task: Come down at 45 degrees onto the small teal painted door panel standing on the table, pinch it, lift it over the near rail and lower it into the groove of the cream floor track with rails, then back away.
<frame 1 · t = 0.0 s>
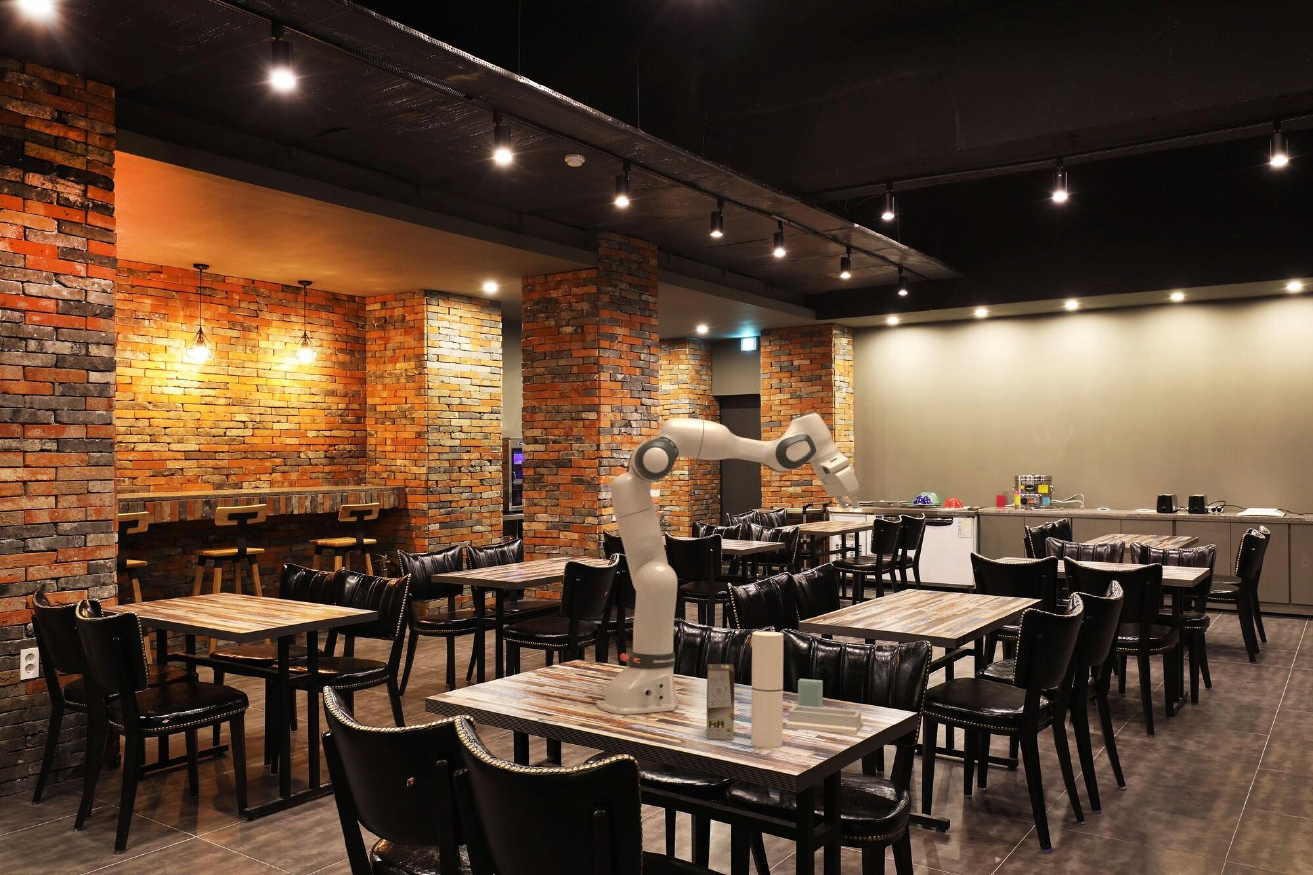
hand: (851, 507, 267), 54 cm above the table, tool tilted 30°, fingers open, 8 cm apart
door: (810, 713, 250), on the table
track: (824, 725, 236), on the table
cylindrical container: (766, 744, 217), on the table
coffee box: (719, 736, 224), on the table
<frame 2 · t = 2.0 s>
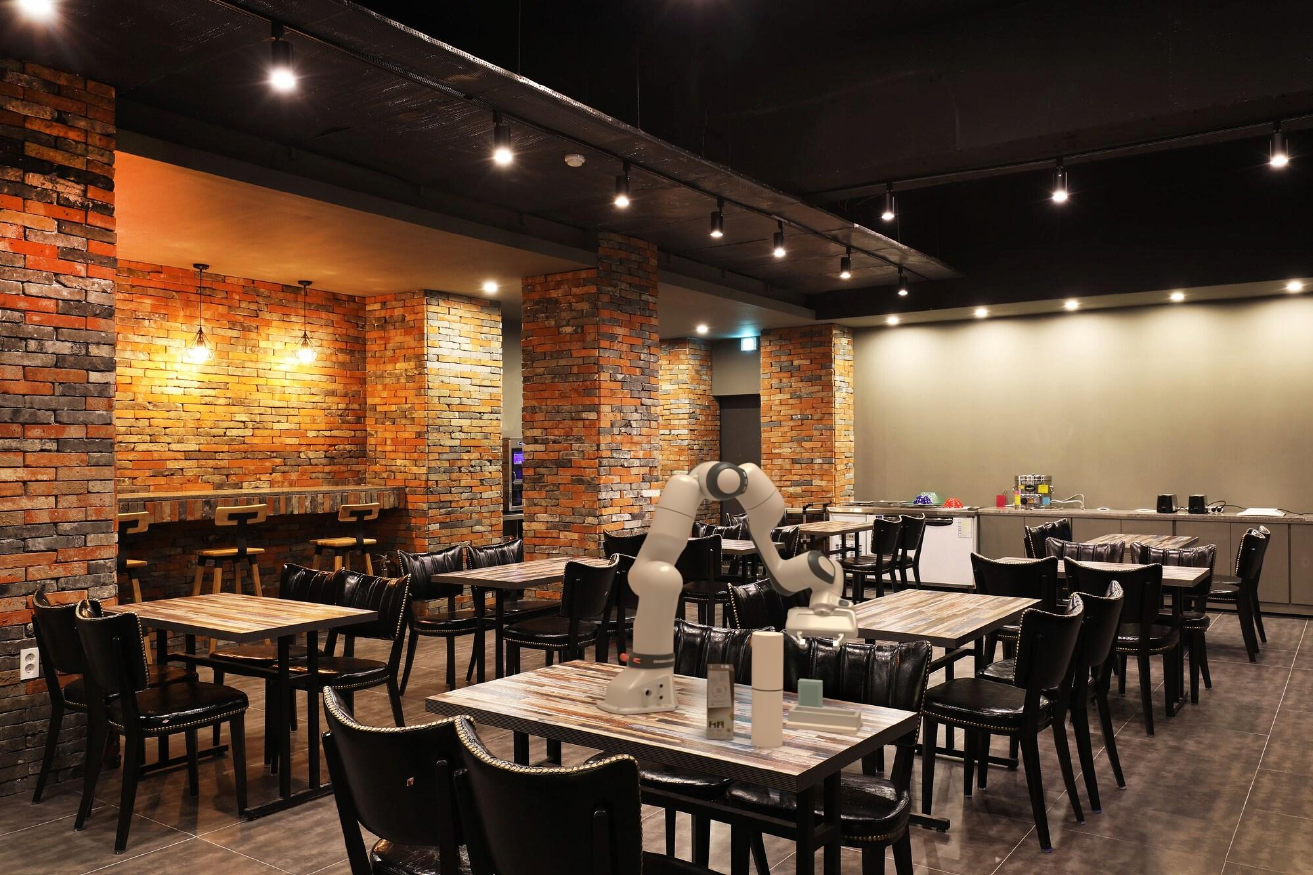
hand: (818, 647, 263), 15 cm above the table, tool tilted 45°, fingers open, 8 cm apart
nothing on the table moved.
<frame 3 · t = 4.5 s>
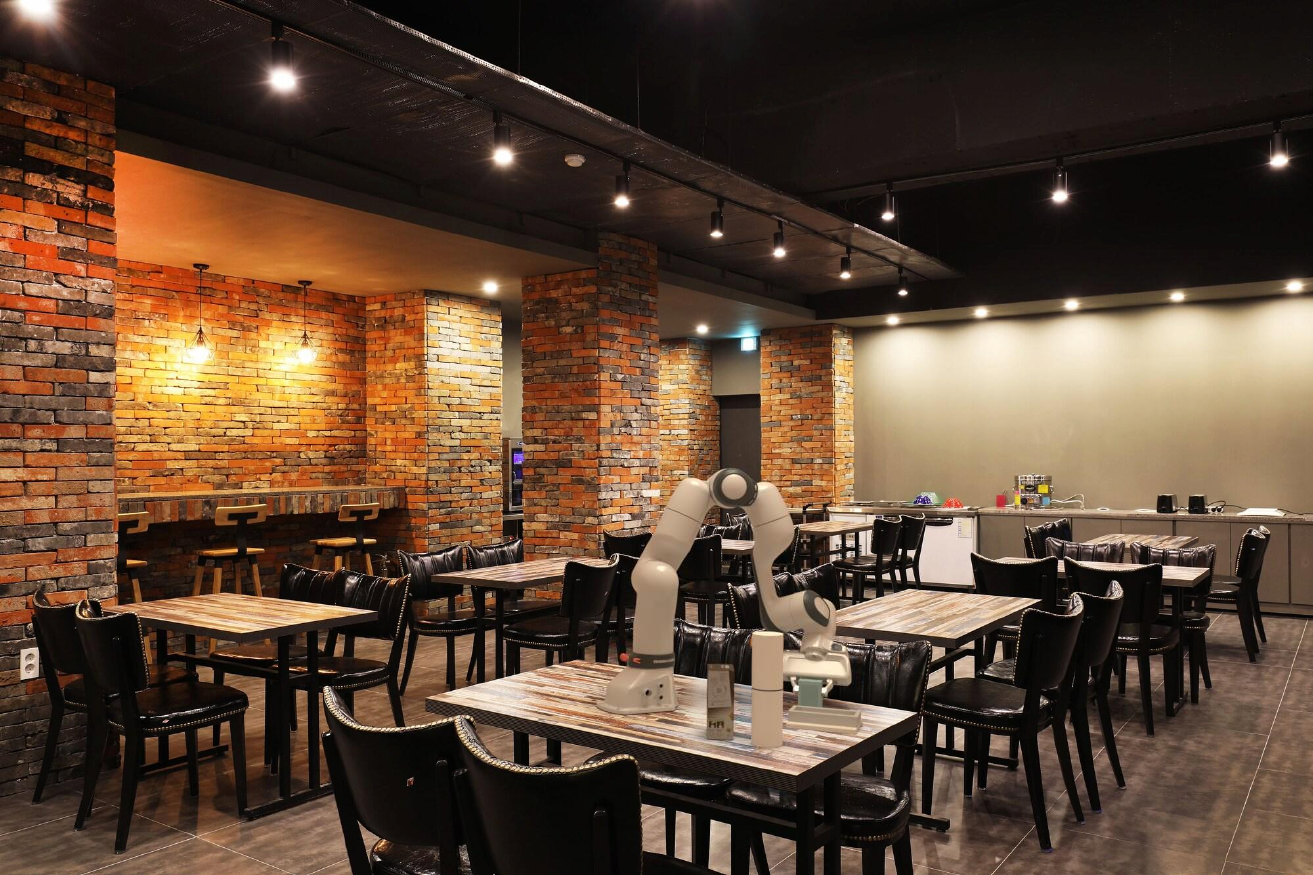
hand: (809, 694, 250), 5 cm above the table, tool tilted 45°, fingers closed on door, 6 cm apart
door: (810, 712, 250), on the table, touching gripper
everything else where it was.
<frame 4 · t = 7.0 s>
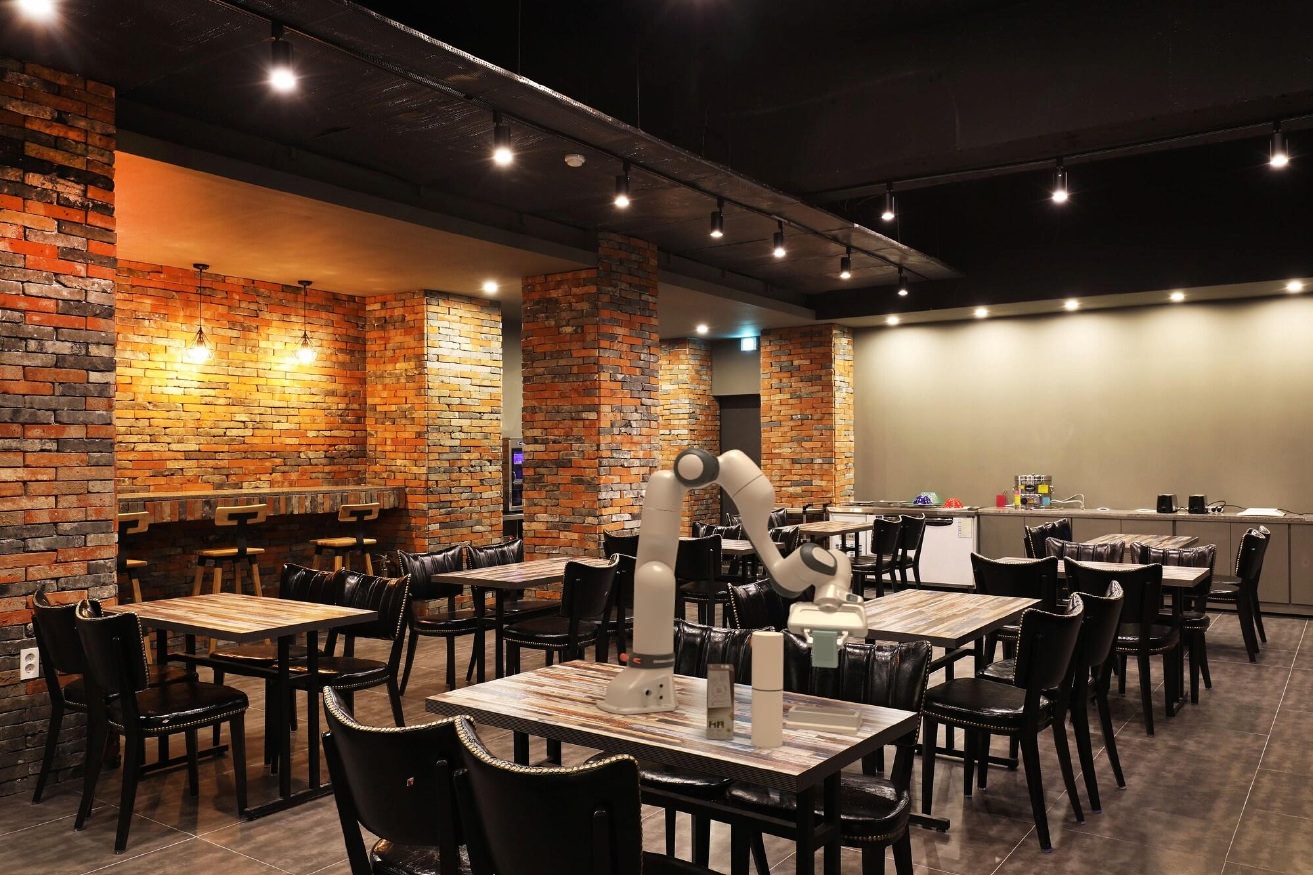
hand: (824, 646, 237), 19 cm above the table, tool tilted 45°, fingers closed on door, 6 cm apart
door: (824, 666, 237), point 15 cm above the table, touching gripper
everything else where it was.
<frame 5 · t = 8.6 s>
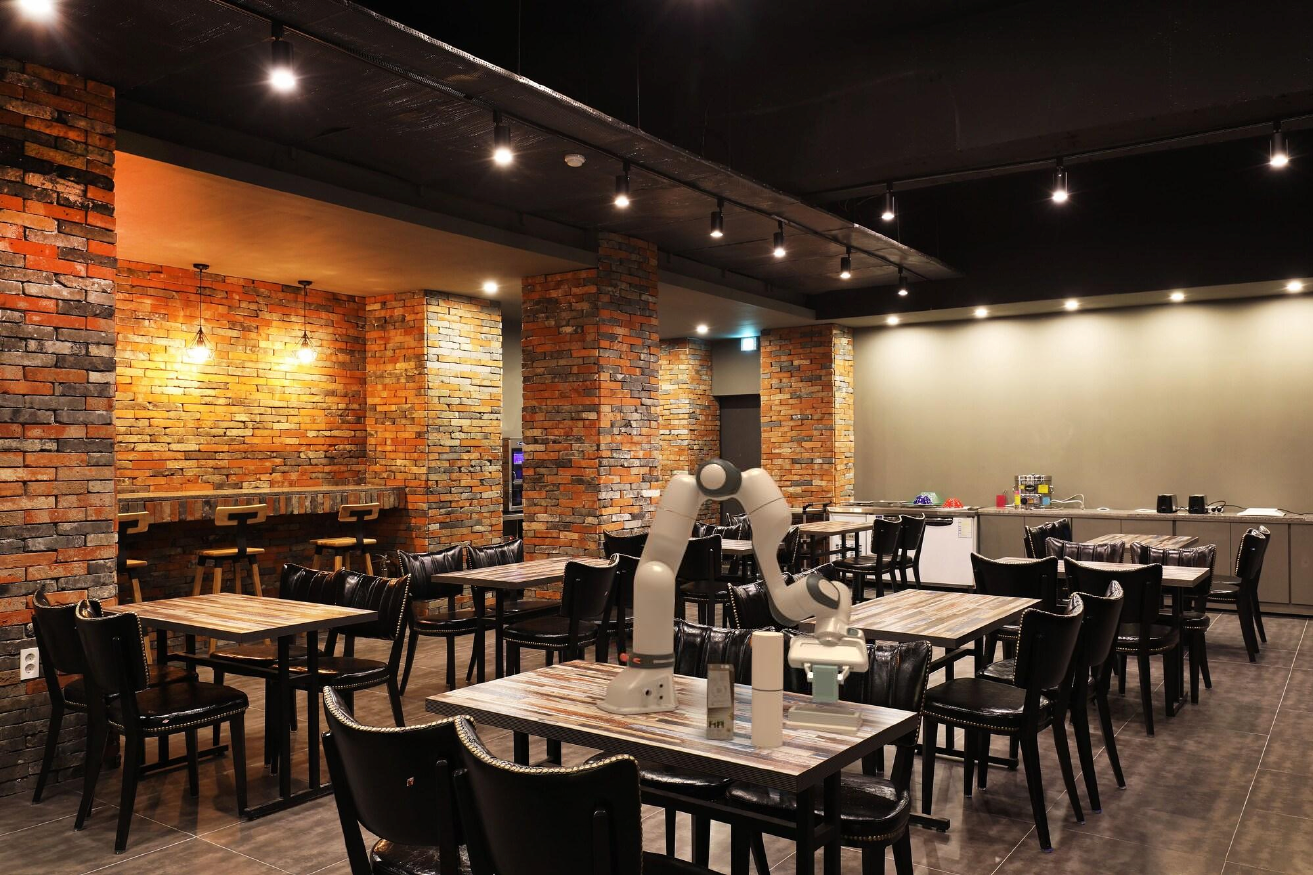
hand: (825, 681, 236), 11 cm above the table, tool tilted 45°, fingers closed on door, 6 cm apart
door: (825, 700, 237), point 6 cm above the table, touching gripper
everything else where it was.
when the fingers open (8 cm above the table, at t = 9.7 s): door drops 2 cm, resting on track.
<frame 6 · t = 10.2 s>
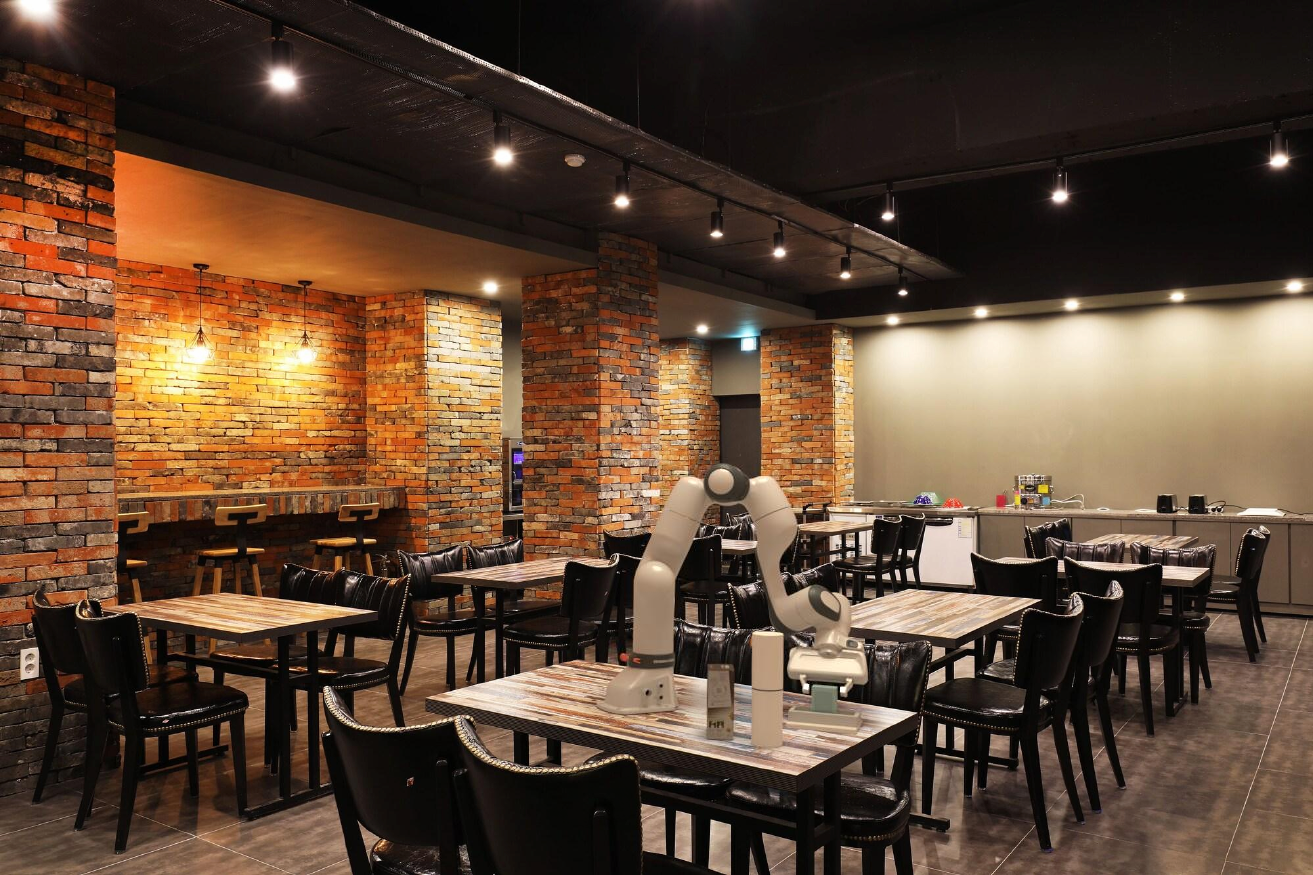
hand: (824, 693, 236), 8 cm above the table, tool tilted 45°, fingers open, 8 cm apart
door: (824, 721, 236), point 1 cm above the table, touching track
everything else where it was.
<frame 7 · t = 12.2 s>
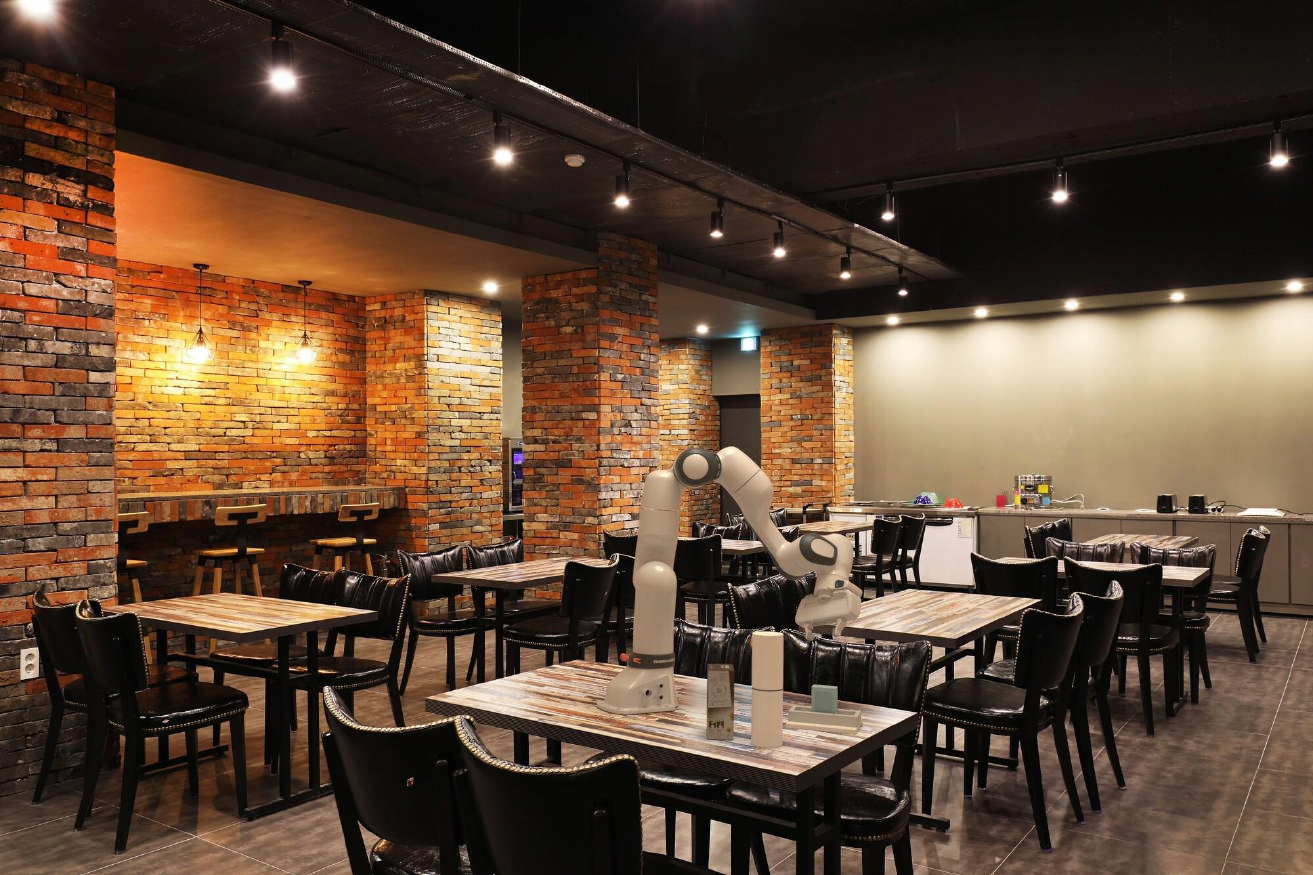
hand: (822, 637, 251), 20 cm above the table, tool tilted 30°, fingers open, 8 cm apart
nothing on the table moved.
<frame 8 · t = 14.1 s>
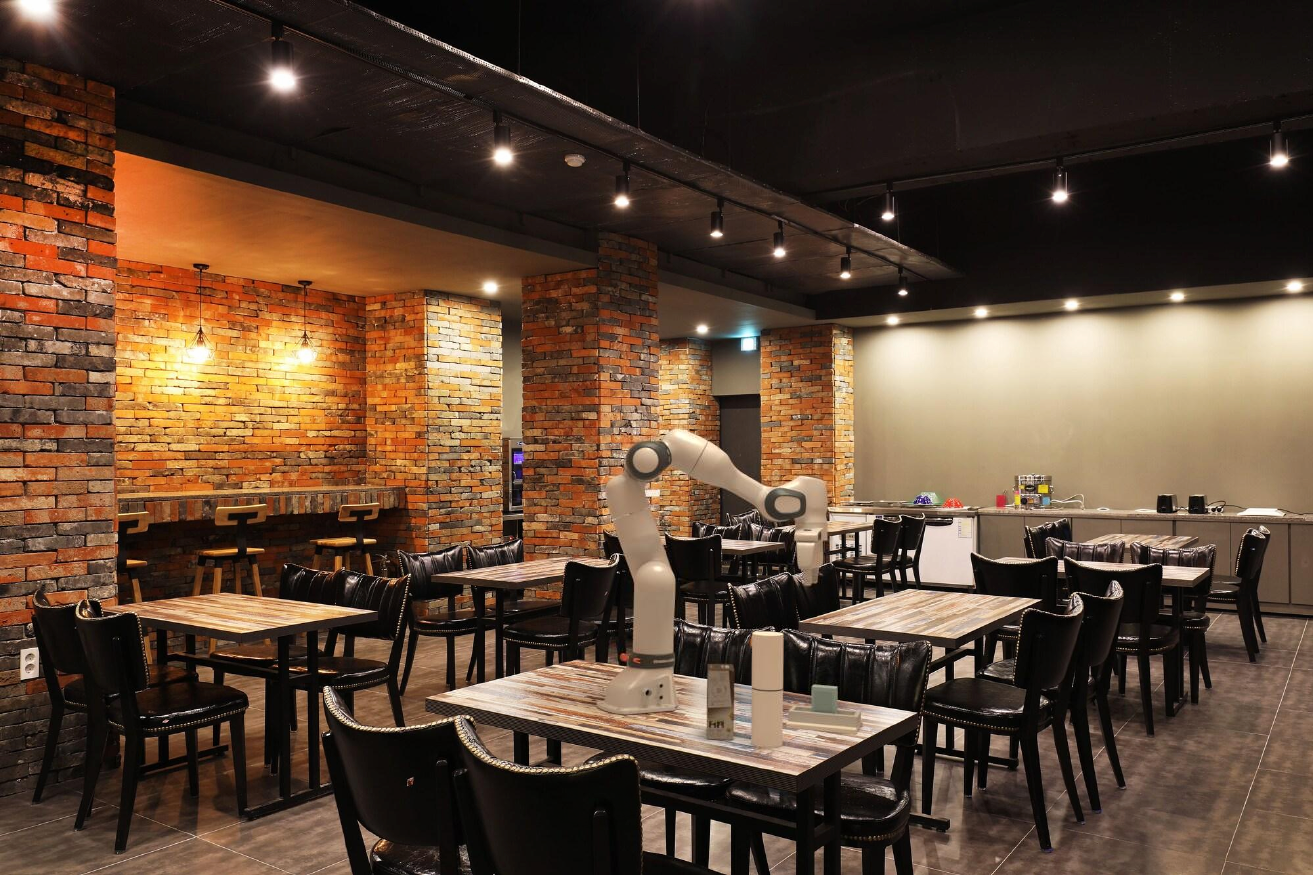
hand: (810, 584, 261), 33 cm above the table, tool pointing down, fingers open, 8 cm apart
nothing on the table moved.
at the end: door 0.1 cm from the track (horizontally); door point 1.0 cm above the table; door tilted 0° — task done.
